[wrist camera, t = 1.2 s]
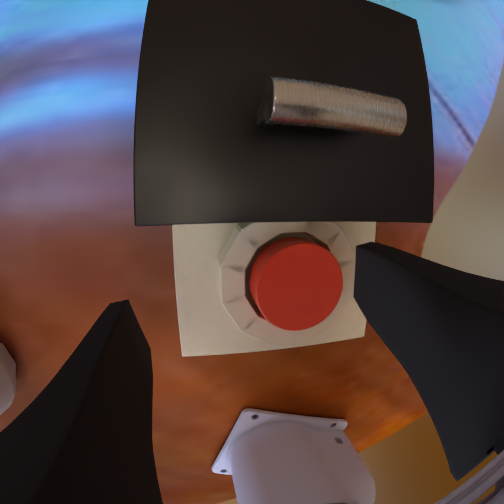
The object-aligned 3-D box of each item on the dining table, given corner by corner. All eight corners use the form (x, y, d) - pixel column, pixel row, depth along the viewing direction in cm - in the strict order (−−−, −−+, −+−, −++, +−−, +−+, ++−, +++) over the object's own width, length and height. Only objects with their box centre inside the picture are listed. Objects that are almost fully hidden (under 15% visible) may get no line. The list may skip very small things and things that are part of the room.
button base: (357, 330, 20) (377, 348, 18) (182, 348, 18) (181, 373, 15) (368, 206, 18) (393, 210, 16) (172, 207, 16) (168, 210, 14)
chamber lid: (425, 221, 15) (479, 232, 11) (137, 224, 12) (112, 241, 8) (411, 22, 12) (452, -1, 8) (154, -19, 9) (148, -69, 6)
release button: (326, 313, 17) (339, 326, 15) (249, 320, 16) (255, 335, 14) (331, 235, 16) (346, 241, 14) (248, 237, 15) (256, 244, 13)
